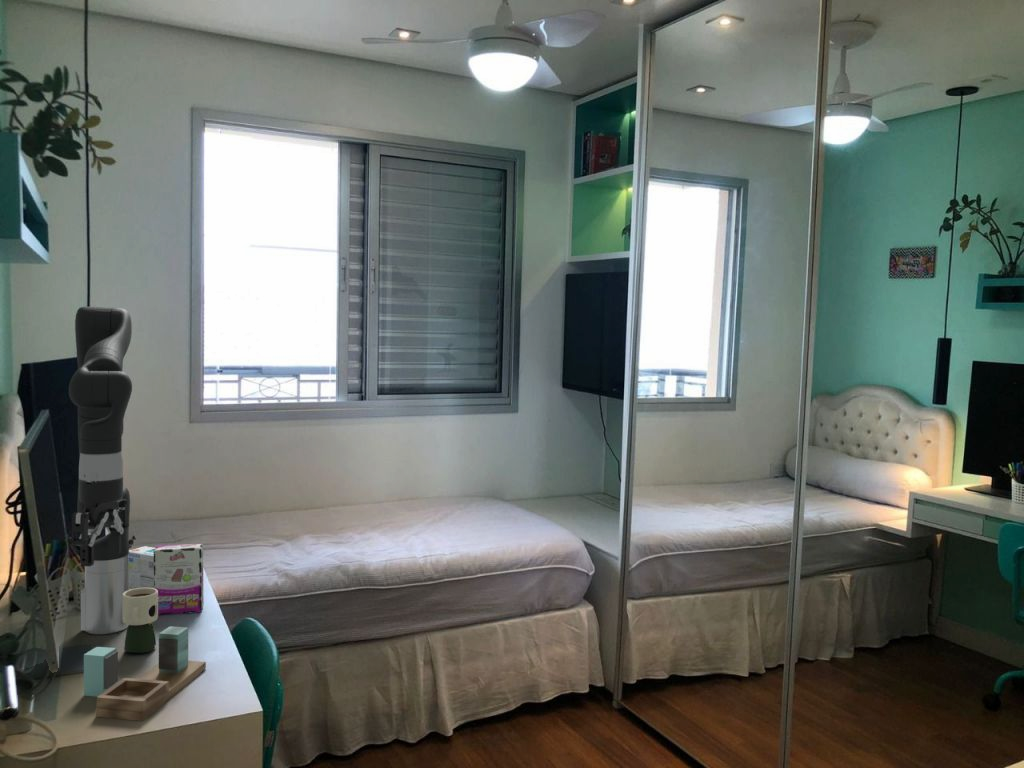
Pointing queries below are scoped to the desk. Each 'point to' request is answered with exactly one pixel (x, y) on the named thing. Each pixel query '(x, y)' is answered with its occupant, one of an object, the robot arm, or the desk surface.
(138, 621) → the character mug
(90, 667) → the teal rectangular prism
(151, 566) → the light bulb box
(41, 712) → the desk surface
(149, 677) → the wooden tray with block
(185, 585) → the candy bar box
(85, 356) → the robot arm
